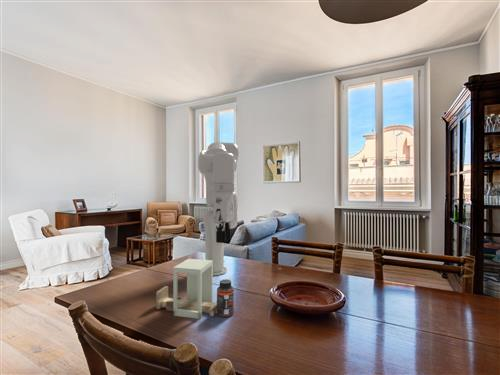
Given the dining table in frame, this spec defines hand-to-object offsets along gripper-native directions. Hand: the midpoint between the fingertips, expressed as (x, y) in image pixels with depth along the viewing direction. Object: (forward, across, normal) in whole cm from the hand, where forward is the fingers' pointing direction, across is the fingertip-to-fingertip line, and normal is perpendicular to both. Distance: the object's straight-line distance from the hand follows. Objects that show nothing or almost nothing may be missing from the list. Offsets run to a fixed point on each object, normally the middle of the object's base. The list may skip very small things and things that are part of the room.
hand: (223, 240), depth 92 cm
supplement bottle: (+26, 0, -1) cm, 26 cm away
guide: (+25, 0, +19) cm, 32 cm away
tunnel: (+25, 0, +11) cm, 28 cm away
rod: (+25, 0, +14) cm, 29 cm away
